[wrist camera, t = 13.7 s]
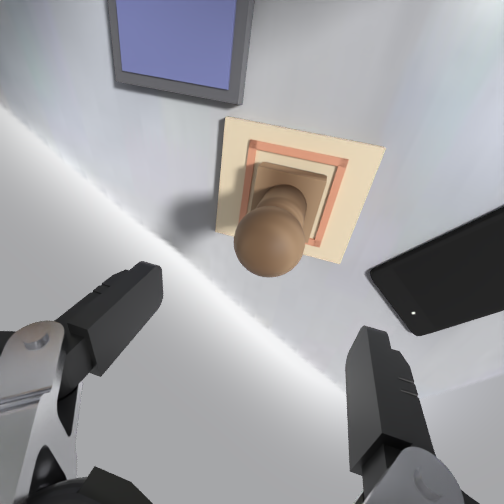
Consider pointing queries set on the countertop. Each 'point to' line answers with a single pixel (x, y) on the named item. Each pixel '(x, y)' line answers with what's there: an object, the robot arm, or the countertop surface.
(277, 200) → the stamp
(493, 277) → the cell phone
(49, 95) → the countertop surface
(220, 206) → the board
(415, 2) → the countertop surface
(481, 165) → the countertop surface
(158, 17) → the ink pad
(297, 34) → the countertop surface
